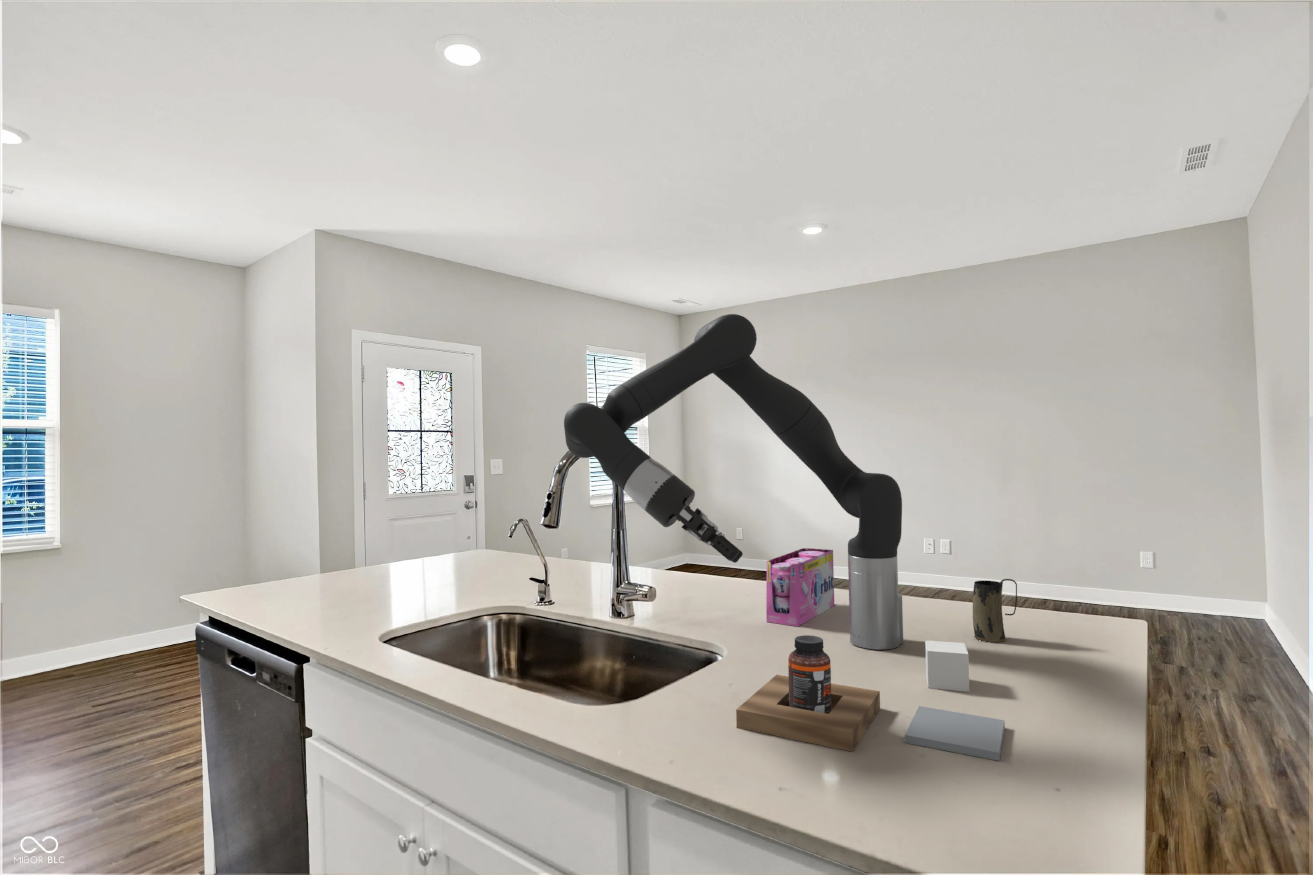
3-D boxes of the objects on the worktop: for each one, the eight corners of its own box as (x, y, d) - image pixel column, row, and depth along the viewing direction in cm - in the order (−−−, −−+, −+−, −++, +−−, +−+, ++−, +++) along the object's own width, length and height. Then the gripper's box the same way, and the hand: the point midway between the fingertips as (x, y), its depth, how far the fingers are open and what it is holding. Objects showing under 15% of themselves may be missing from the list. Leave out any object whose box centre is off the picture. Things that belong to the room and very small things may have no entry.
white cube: (928, 688, 107) (927, 650, 107) (926, 676, 113) (925, 640, 113) (969, 692, 105) (968, 653, 105) (965, 679, 111) (964, 642, 111)
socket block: (776, 690, 108) (776, 674, 108) (880, 708, 99) (879, 691, 100) (736, 727, 94) (736, 709, 94) (852, 751, 86) (852, 731, 86)
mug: (972, 640, 132) (970, 579, 132) (974, 633, 137) (972, 574, 137) (1018, 645, 128) (1016, 582, 128) (1018, 638, 133) (1016, 577, 133)
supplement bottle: (833, 727, 93) (831, 645, 93) (789, 724, 94) (787, 643, 94) (830, 710, 99) (828, 633, 99) (789, 708, 100) (787, 632, 100)
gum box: (796, 628, 143) (795, 564, 144) (762, 623, 148) (761, 561, 148) (835, 605, 163) (834, 549, 163) (804, 601, 168) (803, 547, 168)
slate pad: (919, 712, 97) (919, 705, 97) (1004, 727, 92) (1004, 720, 92) (905, 742, 88) (904, 734, 88) (999, 760, 82) (999, 752, 82)
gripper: (666, 466, 102) (750, 535, 98) (680, 480, 116) (754, 541, 111) (634, 505, 102) (718, 576, 97) (652, 514, 115) (726, 576, 111)
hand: (737, 557), depth 104 cm, fingers open, 8 cm apart
